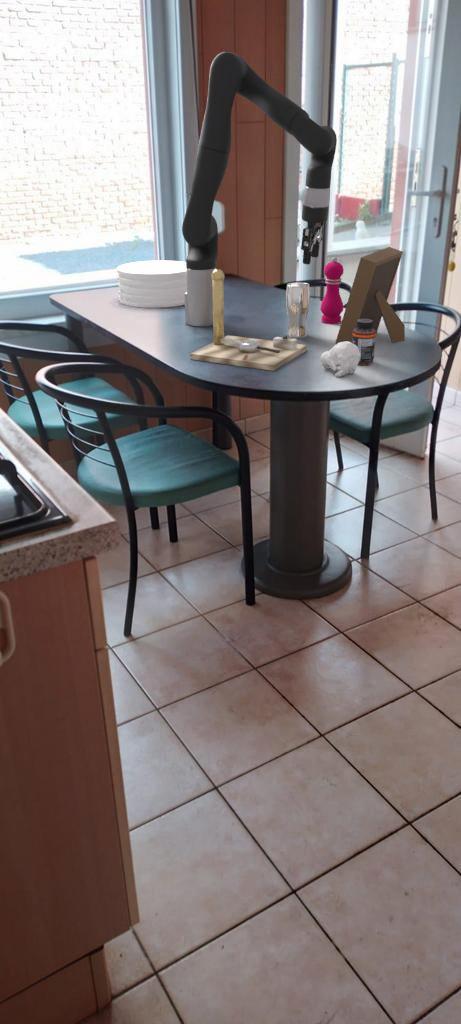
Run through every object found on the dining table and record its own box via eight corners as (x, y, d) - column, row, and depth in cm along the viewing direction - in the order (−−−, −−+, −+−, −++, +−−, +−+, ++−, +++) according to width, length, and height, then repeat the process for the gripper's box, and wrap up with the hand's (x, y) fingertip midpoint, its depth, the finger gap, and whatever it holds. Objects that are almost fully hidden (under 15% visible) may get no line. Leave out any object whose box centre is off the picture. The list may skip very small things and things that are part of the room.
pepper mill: (341, 324, 244) (345, 258, 235) (318, 323, 246) (321, 258, 236) (343, 319, 251) (347, 255, 241) (321, 318, 252) (323, 254, 243)
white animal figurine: (343, 345, 189) (313, 339, 199) (343, 379, 193) (313, 372, 202) (363, 341, 192) (332, 335, 202) (362, 375, 196) (332, 368, 205)
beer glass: (310, 333, 235) (312, 282, 228) (305, 339, 229) (307, 287, 222) (288, 332, 237) (289, 281, 230) (282, 337, 231) (283, 285, 224)
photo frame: (335, 347, 221) (341, 255, 209) (363, 330, 237) (370, 245, 226) (384, 354, 214) (393, 260, 202) (410, 337, 231) (420, 249, 219)
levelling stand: (190, 359, 211) (189, 341, 209) (227, 340, 228) (227, 324, 226) (273, 370, 201) (274, 352, 198) (306, 350, 218) (307, 333, 216)
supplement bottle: (349, 359, 209) (352, 317, 204) (371, 359, 209) (375, 317, 204) (352, 366, 204) (354, 322, 199) (374, 366, 204) (378, 322, 199)
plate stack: (211, 296, 285) (211, 264, 280) (166, 311, 264) (164, 276, 259) (151, 289, 299) (149, 258, 294) (103, 302, 278) (100, 269, 273)
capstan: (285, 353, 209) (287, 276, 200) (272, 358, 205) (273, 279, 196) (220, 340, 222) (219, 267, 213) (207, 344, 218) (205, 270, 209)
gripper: (310, 197, 230) (305, 253, 239) (296, 206, 219) (291, 264, 228) (335, 200, 228) (329, 256, 237) (321, 209, 217) (315, 268, 226)
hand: (310, 260), depth 232 cm, fingers open, 8 cm apart
